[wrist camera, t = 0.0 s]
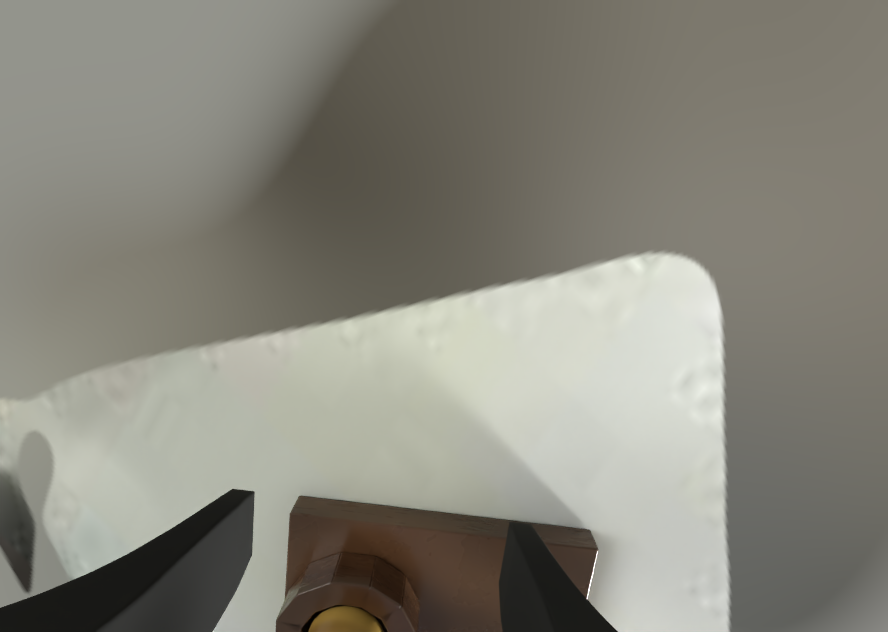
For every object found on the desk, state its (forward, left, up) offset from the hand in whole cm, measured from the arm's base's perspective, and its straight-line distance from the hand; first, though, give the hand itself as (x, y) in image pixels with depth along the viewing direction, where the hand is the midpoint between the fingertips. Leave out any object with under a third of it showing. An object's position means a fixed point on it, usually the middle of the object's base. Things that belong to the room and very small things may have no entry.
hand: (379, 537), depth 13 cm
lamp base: (-12, -2, -10) cm, 16 cm away
